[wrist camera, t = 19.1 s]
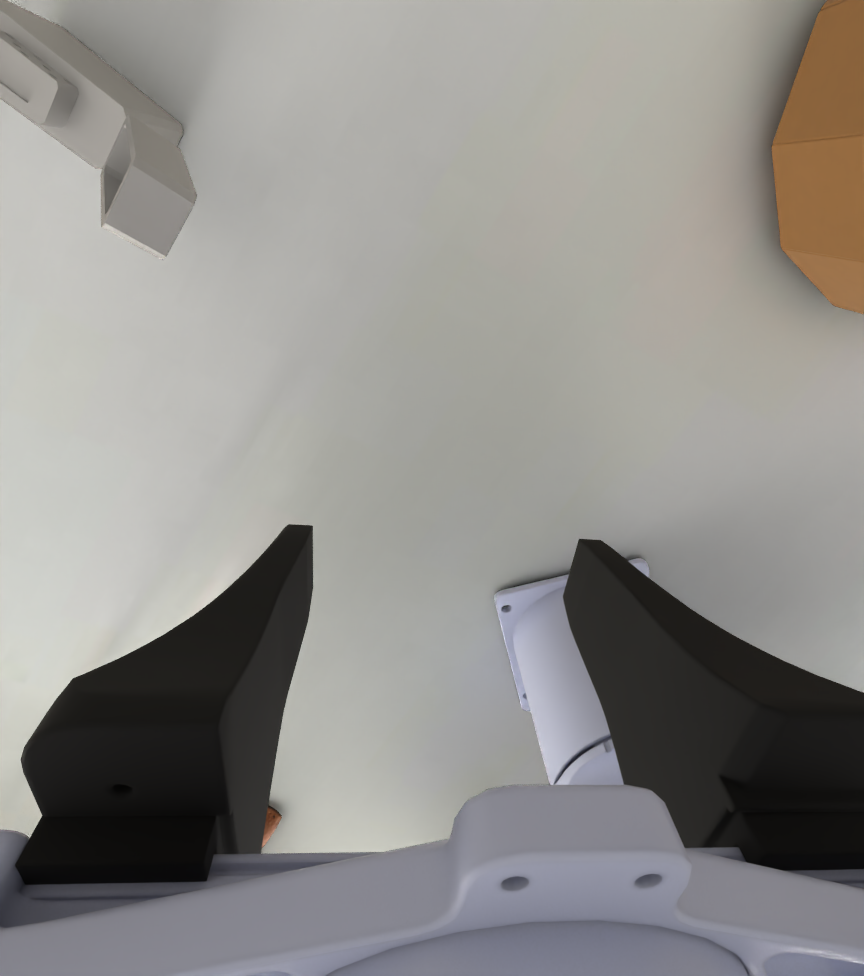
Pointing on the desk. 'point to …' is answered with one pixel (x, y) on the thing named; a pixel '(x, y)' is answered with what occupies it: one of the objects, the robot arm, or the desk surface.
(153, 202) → the lighter
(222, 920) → the robot arm
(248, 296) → the desk surface
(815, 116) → the tape roll
